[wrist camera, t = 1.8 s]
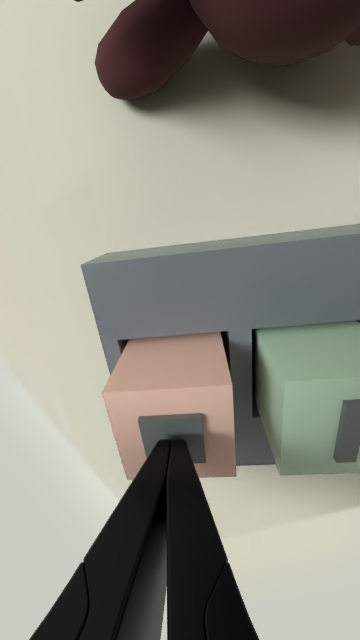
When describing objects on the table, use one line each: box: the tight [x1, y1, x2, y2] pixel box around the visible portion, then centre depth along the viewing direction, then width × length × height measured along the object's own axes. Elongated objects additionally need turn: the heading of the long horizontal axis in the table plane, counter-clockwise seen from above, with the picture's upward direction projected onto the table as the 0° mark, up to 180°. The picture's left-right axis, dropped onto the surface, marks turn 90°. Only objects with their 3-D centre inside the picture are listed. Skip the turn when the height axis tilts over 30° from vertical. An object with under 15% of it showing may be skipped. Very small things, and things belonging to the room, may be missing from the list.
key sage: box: [255, 320, 360, 475], centre depth 9 cm, size 4×4×4 cm
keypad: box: [81, 224, 360, 466], centre depth 12 cm, size 17×11×3 cm, turn 97°
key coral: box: [102, 332, 236, 480], centre depth 10 cm, size 4×4×4 cm
